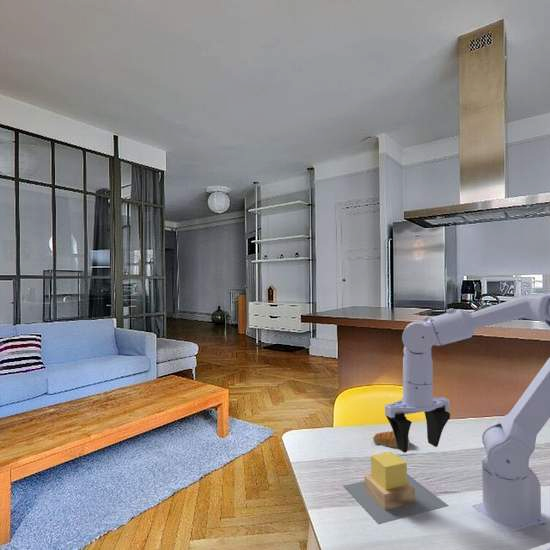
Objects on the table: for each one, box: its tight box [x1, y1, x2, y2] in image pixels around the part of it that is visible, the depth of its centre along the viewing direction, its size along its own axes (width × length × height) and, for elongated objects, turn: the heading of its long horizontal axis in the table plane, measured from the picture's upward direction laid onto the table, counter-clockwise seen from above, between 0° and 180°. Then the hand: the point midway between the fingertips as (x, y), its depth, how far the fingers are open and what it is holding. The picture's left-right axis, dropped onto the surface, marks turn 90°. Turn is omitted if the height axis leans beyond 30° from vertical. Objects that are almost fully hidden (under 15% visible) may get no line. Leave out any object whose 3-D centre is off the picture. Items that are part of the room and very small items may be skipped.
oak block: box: [364, 474, 415, 510], centre depth 76 cm, size 7×7×3 cm
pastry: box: [372, 430, 410, 450], centre depth 100 cm, size 9×7×4 cm
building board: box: [342, 473, 449, 525], centre depth 76 cm, size 16×13×1 cm
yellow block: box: [370, 451, 408, 490], centre depth 76 cm, size 5×5×4 cm
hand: (417, 447), depth 76 cm, fingers open, 7 cm apart
